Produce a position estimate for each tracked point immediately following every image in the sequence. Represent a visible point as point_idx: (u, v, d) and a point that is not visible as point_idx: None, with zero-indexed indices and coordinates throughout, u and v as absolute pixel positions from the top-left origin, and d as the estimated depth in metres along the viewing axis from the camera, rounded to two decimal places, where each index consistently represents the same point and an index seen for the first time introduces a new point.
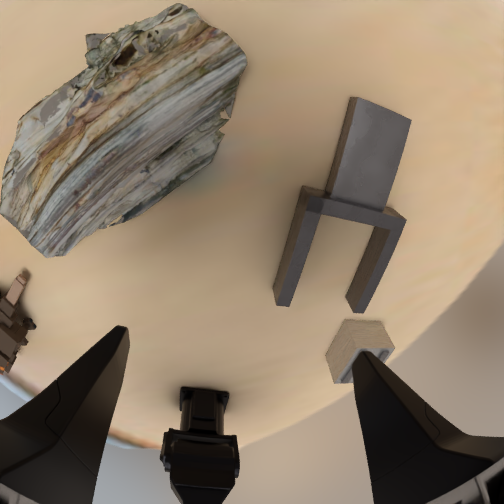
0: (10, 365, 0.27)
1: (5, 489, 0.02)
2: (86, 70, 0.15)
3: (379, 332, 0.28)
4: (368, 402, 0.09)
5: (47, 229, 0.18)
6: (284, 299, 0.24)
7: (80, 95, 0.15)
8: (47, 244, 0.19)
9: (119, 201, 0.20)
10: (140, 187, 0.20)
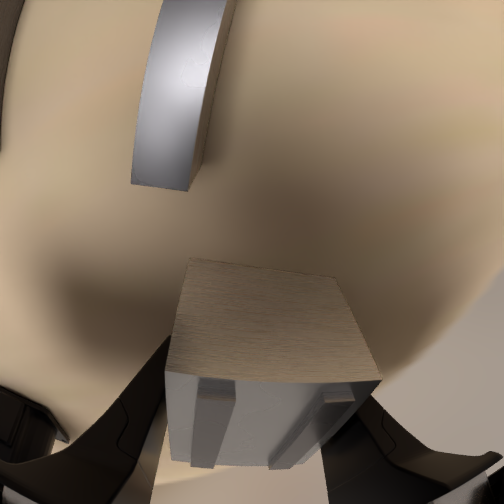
0: None
1: None
2: None
3: (320, 313, 0.08)
4: None
5: None
6: None
7: None
8: None
9: None
10: None
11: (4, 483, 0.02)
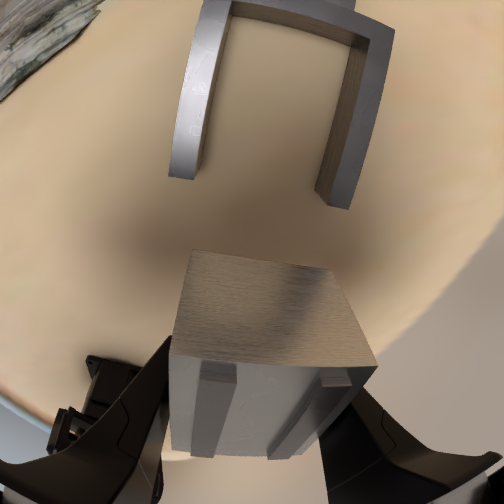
0: None
1: None
2: None
3: (318, 303, 0.08)
4: None
5: None
6: (182, 162, 0.12)
7: None
8: None
9: None
10: (0, 67, 0.09)
11: (5, 483, 0.02)
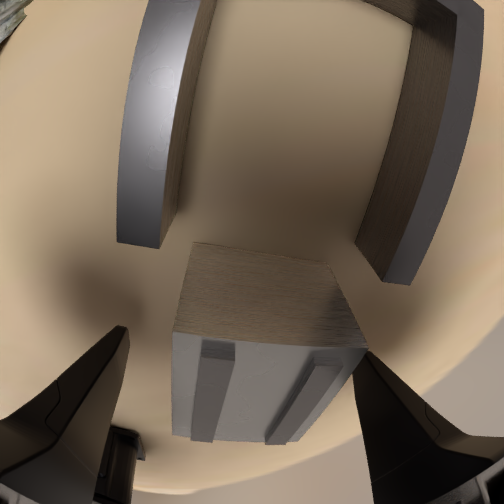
0: None
1: (5, 489, 0.02)
2: None
3: (312, 290, 0.09)
4: (368, 402, 0.09)
5: None
6: (136, 219, 0.07)
7: None
8: None
9: None
10: None
11: None
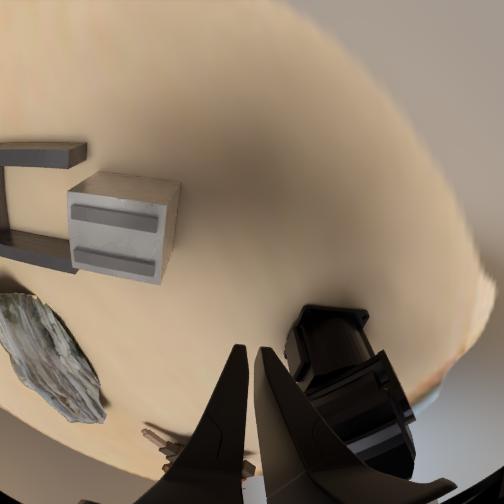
0: (244, 471, 0.35)
1: None
2: None
3: None
4: (261, 406, 0.08)
5: (75, 416, 0.25)
6: (66, 266, 0.17)
7: None
8: (91, 418, 0.27)
9: (76, 375, 0.25)
10: (69, 363, 0.24)
11: None
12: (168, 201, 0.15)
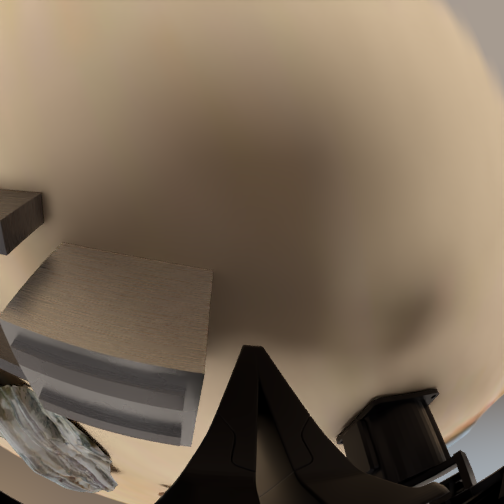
0: None
1: None
2: None
3: None
4: None
5: (85, 490, 0.18)
6: None
7: None
8: (100, 488, 0.20)
9: (86, 458, 0.18)
10: (78, 449, 0.17)
11: None
12: (203, 353, 0.07)
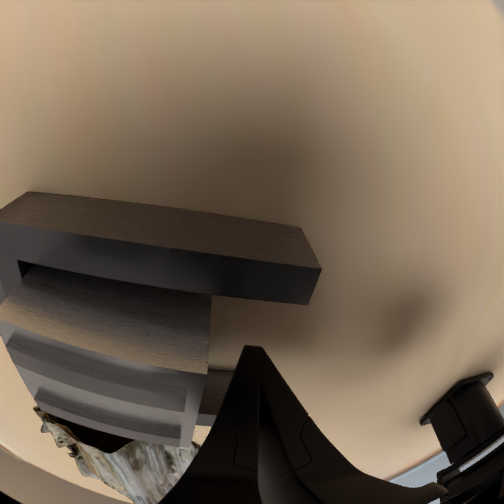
0: None
1: None
2: None
3: None
4: None
5: None
6: None
7: None
8: None
9: None
10: None
11: None
12: (205, 353, 0.07)
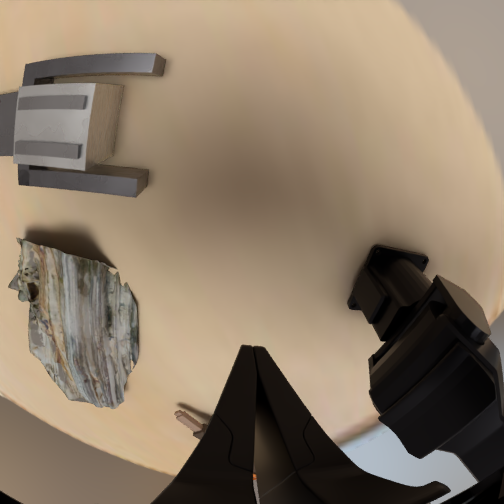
0: None
1: None
2: (30, 303, 0.22)
3: None
4: None
5: (95, 400, 0.25)
6: (125, 187, 0.16)
7: (40, 325, 0.22)
8: (106, 403, 0.27)
9: (118, 359, 0.25)
10: (119, 346, 0.24)
11: None
12: (100, 83, 0.12)
